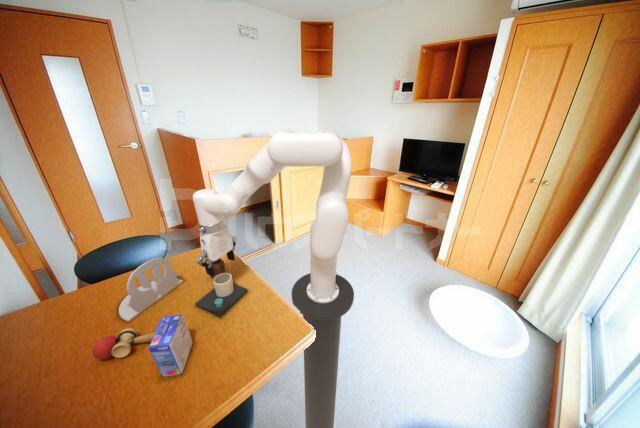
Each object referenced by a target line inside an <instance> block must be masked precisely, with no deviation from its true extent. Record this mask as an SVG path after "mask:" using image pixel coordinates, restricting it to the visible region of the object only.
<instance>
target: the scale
mask: <svg viewBox="0 0 640 428" xmlns="http://www.w3.org/2000/svg"><path fill="white" fill-rule="evenodd" d="M233 285H234V291H233V292H232V293H231V294H230V295H228V296H225V297H219V296H217V295H216V293H215V288H212V289H211V290H210V291H209V292H208V293H206V294H205V295H204V296H202V297H201V298H200V299H199V300H198V301H196V302H195V307H197V308H198V309H202V310H203V311H205V312H207V313H209V314H211V315H214V316H216V317H218V318H222V317H223V316H225V314H226V313H227V312H228V311H229V310H231V308H232V307H233V306H235V304H237V303H238V302H239V301H240V300H241V299H242V298H243V297H244V296H245V295H246V294H247V293H248V292H249V291H248V288H246V287H244V286H240V285H238V284H236V283H233ZM218 298H222V299H223V303H224V305H223V306H222V307H220V308H216V307H215V303H214V302H215V300H216V299H218Z"/></svg>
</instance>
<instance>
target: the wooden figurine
mask: <svg viewBox="0 0 640 428" xmlns="http://www.w3.org/2000/svg"><path fill="white" fill-rule="evenodd" d="M207 263H209V260H208V262H207ZM212 266H213V268H214V272H215V276H217V275H219V274H221V273H226V272H225V271H226V265H225V261H224V260H223V259H222V257H221V258H219V259H218V260H216V261H213V263H212ZM209 276H210V277H211V278H212V279H214V277H215V276H211V275H209Z"/></svg>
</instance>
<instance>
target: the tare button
mask: <svg viewBox="0 0 640 428" xmlns="http://www.w3.org/2000/svg"><path fill="white" fill-rule="evenodd" d="M214 303H215V307H216V308H220V307H222V306H223V305H224V303H223V299H222V298H218V299H216V300H215V302H214Z"/></svg>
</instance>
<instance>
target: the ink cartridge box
mask: <svg viewBox="0 0 640 428" xmlns="http://www.w3.org/2000/svg"><path fill="white" fill-rule="evenodd" d="M154 330H155V332H156V334H155V336H154V338H153V339H152V341H150V342H149V343H150V344H149V345H148V350H149V352H150V354H151V356H152V358H153V360H154V362H155V364H156V366H157V369H158V370H159V372H160V374H161V376H162V377H169V376H170V377H171V376H178V375H182V374H183V372H184V370H185V367H186V364H187V360H188V358H189V355H190V352H191V349H192V346H193V343H194V341H193V339H192V336H191V333H190V330H189V328H188V325H187V322H186V319H185V316H184V314H175V315H167V316H163V318H160V320H159V321H158V323H157V325H156V327H155V328H154Z"/></svg>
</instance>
